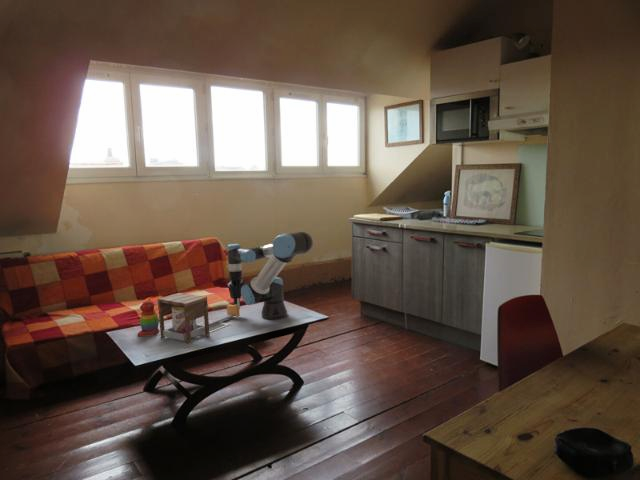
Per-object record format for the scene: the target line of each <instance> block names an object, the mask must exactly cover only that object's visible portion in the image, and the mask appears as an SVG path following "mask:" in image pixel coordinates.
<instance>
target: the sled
mask: <svg viewBox="0 0 640 480" xmlns="http://www.w3.org/2000/svg"><path fill="white" fill-rule="evenodd" d="M240 316H241V315H240V309H239V306H236V305H235V304H231V303H230V304H226V315H224V316H221V317H218V318H216V319H213V320H210V322H209V326H210V325H213V324H215V323H218V322H221V323H222V322H224V321H226V320H228V319H231V318H234V317H240ZM198 324H199V323H196V329H195V330H193V331H190V333H191V338H192V337H194V338H195V337H197V336H199V335H201V334H205V324H202V325H198ZM164 329H165V330H163V336H164V337H163V338H169V339H174V340H178V341H187V340H186V333H185V334H181V333H177V332H173V326H171V327H169V328H168V327H167V328H164Z"/></svg>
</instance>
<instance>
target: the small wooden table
mask: <svg viewBox="0 0 640 480" xmlns="http://www.w3.org/2000/svg"><path fill="white" fill-rule="evenodd" d="M174 305H180V306H184V312H185V326H186V340H185V341H186V344H187V345H188V344H189V345H190V344H192V339H191V333H190V321H191V320H194V319H196V320H197V319H200V318H202V317H204V318H203V320H204V321H203V323H205V333H204V334H205V335H204V336H205V337H208V336H210V334H211V333H209V320H210V319H209V308H208V307H209V306H208V305H209V304H208V296H203V295H196V294H189V293H182V292H178V293H173V294H171V295H167V296H163V297H160V298H157V307H158V319H159V333H160V338H162V339H163V338H165V337H164V336H163V330H165V329H166V328H165V319H164V317H167V316H168V315H169V316H170V315H172V311H171V307H172V306H174Z"/></svg>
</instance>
